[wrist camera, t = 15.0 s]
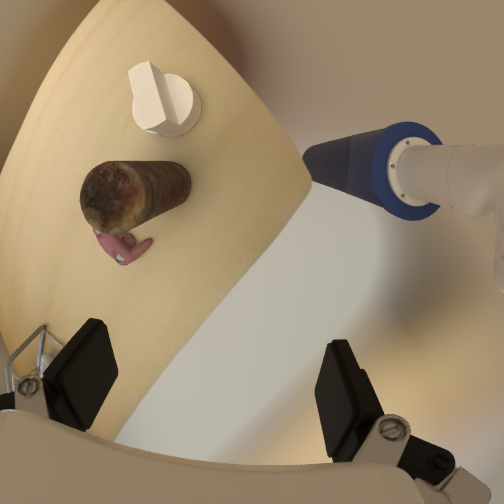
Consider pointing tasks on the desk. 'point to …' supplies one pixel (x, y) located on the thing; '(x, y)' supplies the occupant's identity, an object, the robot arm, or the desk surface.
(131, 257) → the video game controller
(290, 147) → the desk surface
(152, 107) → the base with upright slab
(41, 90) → the desk surface
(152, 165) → the rusty brown cylinder
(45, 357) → the newton's cradle
